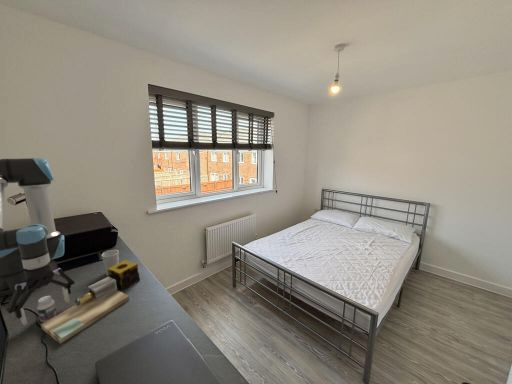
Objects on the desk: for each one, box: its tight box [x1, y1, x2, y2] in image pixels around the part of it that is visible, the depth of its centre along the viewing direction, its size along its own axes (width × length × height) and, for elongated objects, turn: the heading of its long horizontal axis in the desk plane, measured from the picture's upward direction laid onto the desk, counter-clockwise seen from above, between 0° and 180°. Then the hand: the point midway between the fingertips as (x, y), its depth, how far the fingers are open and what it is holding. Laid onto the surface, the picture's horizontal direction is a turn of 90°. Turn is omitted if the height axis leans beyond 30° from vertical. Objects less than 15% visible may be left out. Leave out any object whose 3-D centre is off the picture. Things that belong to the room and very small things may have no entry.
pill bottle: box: [36, 295, 58, 323], centre depth 88 cm, size 5×5×9 cm
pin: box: [74, 291, 95, 306], centre depth 94 cm, size 3×8×3 cm, turn 154°
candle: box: [107, 259, 141, 291], centre depth 111 cm, size 10×10×10 cm
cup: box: [101, 249, 120, 276], centre depth 120 cm, size 8×8×12 cm
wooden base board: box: [40, 276, 130, 345], centre depth 91 cm, size 16×26×8 cm, turn 154°
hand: (47, 311), depth 88 cm, fingers open, 13 cm apart
